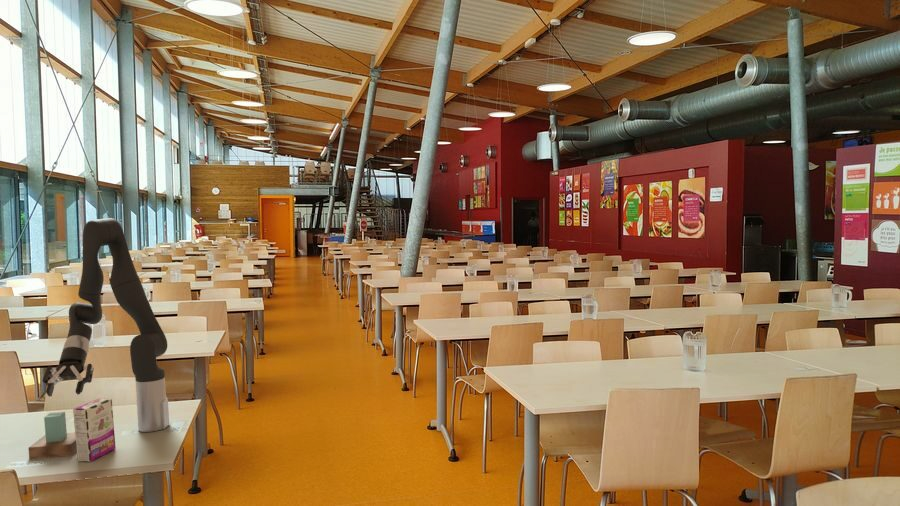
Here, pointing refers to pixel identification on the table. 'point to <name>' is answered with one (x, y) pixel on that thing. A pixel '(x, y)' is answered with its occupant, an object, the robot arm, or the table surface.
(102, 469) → the table surface
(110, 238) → the robot arm
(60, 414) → the teal pillar block
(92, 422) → the candy bar box
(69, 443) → the walnut block
